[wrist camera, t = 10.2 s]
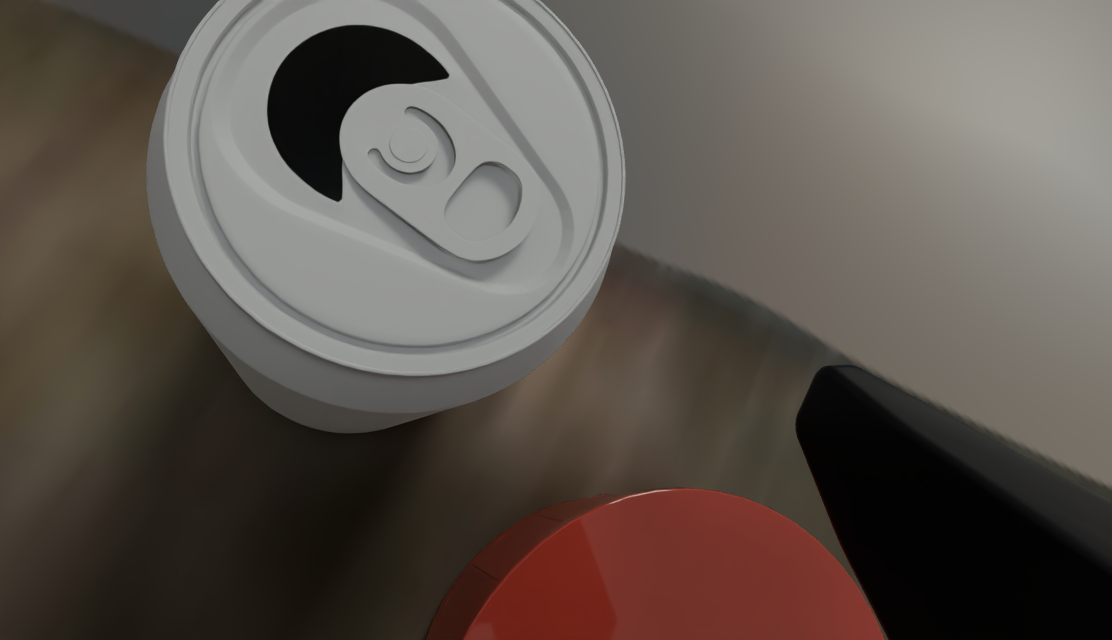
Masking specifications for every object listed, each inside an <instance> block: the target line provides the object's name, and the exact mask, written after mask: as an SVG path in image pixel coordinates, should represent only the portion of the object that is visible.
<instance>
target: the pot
mask: <svg viewBox="0 0 1112 640" xmlns="http://www.w3.org/2000/svg"><path fill="white" fill-rule="evenodd" d="M615 497H618V495H610V494H604V495H602V494H600V495H596V496H593V497H588V498H581V499H576V500H571V501H567V502H562V503H559V504H556V505H554V506H551V507H548V508H545V509H542V510H540V511H538V512H536V513H534V514H532V515H530V516H528V517H526V518H524V519H522V520H520V521H518V522H517V523H515V524H514V525H512V526H511V527H510V528H508V529H507V530H505V531H504V532H502V533H501V534H500V535H498V536H497V537H496V538H495V539H493V540H492V541H491V542H490V543H489V544H488V545H487V546H486V547H485V548H484V549H482V550H481V551H480V552H479V553H478V554H477V555H476V556H475V557H474V559H473V560H472V561H471V562H470V563H469V564H468V566H467V567H466V568H465V569H464V570H463V571H462V573H461V574H460V575H459V577H458V578H457V580H456V581H455V582H454V584H453V585H452V587H451V588H450V590H449V591H448V593H447V594H446V596H445V597H444V599H443V601H442V603H441V605H440V607H439V609H438V611H437V613H436V615H435V617H434V619H433V621H432V623H431V626H430V629H429V631H428V634H427V637H426V640H458V639H459V637H460V635H461V633H462V631H463V629H464V627H465V625H466V623H467V622H468V620H469V619H470V617H471V616H472V614H473V613H474V611H475V610H476V608H477V606H478V605H479V603H480V602H481V600H482V599H483V597H484V596H485V594H486V593H487V591H488V590H489V589H490V588H491V587H492V585H493V584H494V583H495V582H496V581H497V580H498V578H499V577H500V576H501V575H502V574H503V572H504V571H505V570H506V569H507V568H508V566H509V565H510V564H511V563H512V562H513V561H514V560H516V559H517V558H518V557H519V556H520V555H521V554H522V553H523V552H524V551H525V550H526V549H527V548H528V547H530V546H531V545H532V544H533V543H534V542H535V541H536V540H538V539H539V538H540V537H542V536H543V535H545V534H546V533H547V532H549V531H550V530H552V529H553V528H554V527H556V526H557V525H559V524H560V523H561V522H563V521H564V520H566V519H568V518H570V517H572V516H574V515H576V514H578V513H580V512H581V511H583V510H585V509H587V508H589V507H591V506H593V505H596V504H599V503H602V502H604V501H607V500H610V499H613V498H615Z"/></svg>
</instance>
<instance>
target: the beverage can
mask: <svg viewBox="0 0 1112 640" xmlns="http://www.w3.org/2000/svg"><path fill="white" fill-rule="evenodd" d="M146 187H147V197H148V206H149V212H150V218H151V222H152V226H153V229H154V233H155V237H156V240H157V243H158V246H159V249H160V252H161V255H162V258H163V260H164V262H165V264H166V267H167V269H168V271H169V273H170V275H171V277H172V279H173V280H174V282H175V284H176V286H177V288H178V290H179V292H180V293H181V295H182V297H183V298H184V300H185V301H186V303H187V304H188V305H189V307H190V308H191V310H192V311H193V312H194V314H195V315H196V316H197V318H198V319H199V321H200V322H201V323H202V325H203V326H204V327H205V329H206V330H207V332H208V333H209V334H210V336H211V337H212V338H213V340H214V341H215V343H216V344H217V345H218V347H219V348H220V349H221V351H222V352H223V354H224V355H225V356H226V358H227V359H228V361H229V362H230V363H231V365H232V366H233V367H234V369H235V370H236V372H237V373H238V374H239V376H240V377H241V378H242V380H243V381H244V382H245V383H246V385H247V386H248V387H249V388H250V390H251V391H252V392H253V393H254V394H255V395H256V396H257V397H258V398H259V399H261V400H262V401H263V402H264V403H265V404H266V405H267V406H269V407H270V408H271V409H273V410H274V411H276V412H278V413H279V414H281V415H283V416H285V417H287V418H288V419H290V420H292V421H295V422H297V423H299V424H302V425H305V426H308V427H311V428H314V429H318V430H322V431H328V432H335V433H365V432H373V431H378V430H382V429H386V428H389V427H393V426H396V425H399V424H402V423H406V422H409V421H412V420H415V419H419V418H422V417H425V416H428V415H432V414H435V413H438V412H441V411H445V410H448V409H451V408H454V407H458V406H461V405H464V404H467V403H471V402H474V401H477V400H479V399H482V398H484V397H487V396H489V395H492V394H494V393H496V392H498V391H500V390H502V389H504V388H506V387H508V386H510V385H512V384H514V383H515V382H517V381H519V380H520V379H522V378H524V377H525V376H527V375H528V374H530V373H531V372H532V371H534V370H535V369H536V368H538V367H539V366H540V365H541V364H542V363H544V362H545V361H546V360H547V359H549V358H550V357H551V356H552V355H553V354H554V353H555V352H556V351H557V350H558V349H559V348H560V347H561V346H562V345H563V344H564V343H565V341H566V340H567V339H568V338H569V337H570V335H571V334H572V333H573V332H574V331H575V330H576V328H577V327H578V326H579V324H580V323H581V321H582V320H583V318H584V317H585V315H586V313H587V311H588V310H589V308H590V306H591V304H592V303H593V301H594V299H595V297H596V295H597V293H598V291H599V288H600V286H601V283H602V281H603V278H604V275H605V272H606V269H607V266H608V263H609V259H610V256H611V251H612V248H613V245H614V243H615V240H616V237H617V234H618V230H619V226H620V222H621V217H622V212H623V204H624V196H625V157H624V150H623V143H622V138H621V133H620V128H619V124H618V120H617V117H616V114H615V111H614V107H613V105H612V102H611V99H610V97H609V94H608V92H607V89H606V87H605V86H604V83H603V81H602V79H601V77H600V75H599V73H598V71H597V69H596V68H595V66H594V64H593V63H592V61H591V59H590V58H589V56H588V55H587V53H586V52H585V50H584V49H583V47H582V46H581V44H580V43H579V42H578V40H577V39H576V38H575V37H574V35H572V33H571V32H570V31H569V29H568V28H567V27H566V26H565V25H564V24H563V23H562V22H561V21H560V19H559V18H558V17H557V16H556V15H555V14H554V13H553V12H552V11H551V10H550V9H549V8H547V7H546V6H545V5H544V4H543V3H542V2H541V1H540V0H219V1H218V2H217V3H216V4H215V6H214V7H213V8H212V9H211V10H210V11H209V12H208V14H207V15H206V16H205V17H204V18H203V20H202V21H201V22H200V24H199V25H198V26H197V28H196V29H195V31H194V32H193V34H192V36H191V37H190V39H189V41H188V43H187V45H186V46H185V48H184V50H183V52H182V54H181V56H180V58H179V60H178V63H177V66H176V68H175V71H174V73H173V75H172V77H171V78H170V80H169V82H168V84H167V86H166V88H165V90H164V92H163V94H162V96H161V99H160V102H159V105H158V108H157V111H156V114H155V117H154V120H153V124H152V128H151V133H150V138H149V146H148V153H147V166H146Z"/></svg>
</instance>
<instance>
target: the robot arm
mask: <svg viewBox="0 0 1112 640" xmlns="http://www.w3.org/2000/svg"><path fill="white" fill-rule="evenodd" d="M796 434H797V438H798V440H799V443H800V445H801V448H802V450H803V453H804V455H805V458H806V460H807V463H808V466H809V468H810V471H811V473H812V476H813V478H814V481H815V483H816V486H817V488H818V491H819V493H820V496H821V498H822V501H823V503H824V506H825V508H826V511H827V513H828V516H829V518H830V521H831V523H832V526H833V528H834V531H835V533H836V535H837V538H838V540H839V542H840V545H841V547H842V549H843V551H844V553H845V555H846V557H847V559H848V561H849V564H850V565H851V567H852V569H853V571H854V573H855V575H856V577H857V579H858V581H859V583H860V585H861V587H862V589H863V591H864V593H865V595H866V597H867V599H868V600H869V602H870V604H871V606H872V608H873V610H874V612H875V614H876V616H877V618H878V620H879V622H880V624H881V626H882V628H883V630H884V632H885V633H886V635H887V637H888V639H889V640H1112V502H1111V501H1109V500H1107V499H1105V498H1103V497H1101V496H1100V495H1098V494H1096V493H1094V492H1092V491H1090V490H1088V489H1086V488H1085V487H1083V486H1081V485H1079V484H1077V483H1075V482H1073V481H1071V480H1070V479H1068V478H1066V477H1064V476H1062V475H1060V474H1058V473H1056V472H1055V471H1053V470H1051V469H1049V468H1047V467H1045V466H1043V465H1041V464H1040V463H1038V462H1036V461H1034V460H1032V459H1030V458H1028V457H1026V456H1024V455H1023V454H1021V453H1019V452H1017V451H1015V450H1013V449H1011V448H1009V447H1008V446H1006V445H1004V444H1002V443H1000V442H998V441H996V440H994V439H993V438H991V437H989V436H987V435H985V434H983V433H981V432H979V431H978V430H976V429H974V428H972V427H970V426H968V425H966V424H964V423H963V422H961V421H959V420H957V419H955V418H953V417H951V416H949V415H948V414H946V413H944V412H942V411H940V410H938V409H936V408H934V407H932V406H931V405H929V404H927V403H925V402H923V401H921V400H919V399H917V398H916V397H914V396H912V395H910V394H908V393H906V392H904V391H902V390H901V389H899V388H897V387H895V386H893V385H891V384H889V383H887V382H886V381H884V380H882V379H880V378H878V377H876V376H874V375H872V374H871V373H869V372H867V371H865V370H863V369H861V368H859V367H857V366H853V365H834V366H825V367H823V368H821V369H820V370H819V371H818V372H817V373H816V374H815V376H814V378H813V380H812V383H811V385H810V387H809V389H808V392H807V394H806V396H805V398H804V401H803V403H802V405H801V407H800V409H799V412H798V414H797V417H796Z"/></svg>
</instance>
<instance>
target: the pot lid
mask: <svg viewBox="0 0 1112 640" xmlns="http://www.w3.org/2000/svg"><path fill="white" fill-rule="evenodd" d="M458 640H885V639H884V637H883V635H882V632H881V630H880V628H879V626H878V623H877V621H876V619H875V617H874V614H873V612H872V610H871V609H870V607H869V605H868V604H867V602H866V600H865V598H864V597H863V595H862V593H861V592H860V590H859V588H858V587H857V585H856V584H855V582H854V581H853V580H852V579H851V577H850V576H849V575H848V573H847V572H846V571H845V569H844V568H843V567H842V565H841V564H840V563H839V562H838V560H837V559H836V558H835V557H834V556H833V555H832V554H831V553H830V552H829V551H828V550H827V549H826V548H825V547H824V546H823V545H822V544H821V543H820V542H819V541H818V540H817V539H815V538H814V537H813V536H812V535H810V534H809V533H808V532H806V531H805V530H804V529H803V528H801V527H800V526H799V525H797V524H796V523H795V522H793V521H792V520H790V519H788V518H786V517H785V516H783V515H781V514H779V513H778V512H776V511H774V510H773V509H771V508H769V507H766V506H764V505H761V504H759V503H756V502H754V501H751V500H749V499H746V498H744V497H740V496H736V495H732V494H728V493H724V492H719V491H715V490H704V489H693V488H681V487H679V488H662V489H649V490H644V491H640V492H635V493H630V494H625V495H621V496H618V497H615V498H613V499H610V500H607V501H604V502H602V503H599V504H596V505H593V506H591V507H589V508H587V509H585V510H583V511H581V512H580V513H578V514H576V515H574V516H572V517H570V518H568V519H566V520H564V521H563V522H561V523H560V524H559V525H557V526H556V527H554V528H553V529H552V530H550V531H549V532H547V533H546V534H545V535H543V536H542V537H540V538H539V539H538V540H536V541H535V542H534V543H533V544H532V545H531V546H530V547H528V548H527V549H526V550H525V551H524V552H523V553H522V554H521V555H520V556H519V557H518V558H517V559H516V560H514V561H513V562H512V563H511V564H510V565H509V566H508V568H507V569H506V570H505V571H504V572H503V574H502V575H501V576H500V577H499V578H498V580H497V581H496V582H495V583H494V584H493V585H492V587H491V588H490V589H489V590H488V591H487V593H486V594H485V596H484V597H483V599H482V600H481V602H480V603H479V605H478V606H477V608H476V610H475V611H474V613H473V614H472V616H471V617H470V619H469V620H468V622H467V623H466V625H465V627H464V629H463V631H462V633H461V635H460V637H459V639H458Z"/></svg>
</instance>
